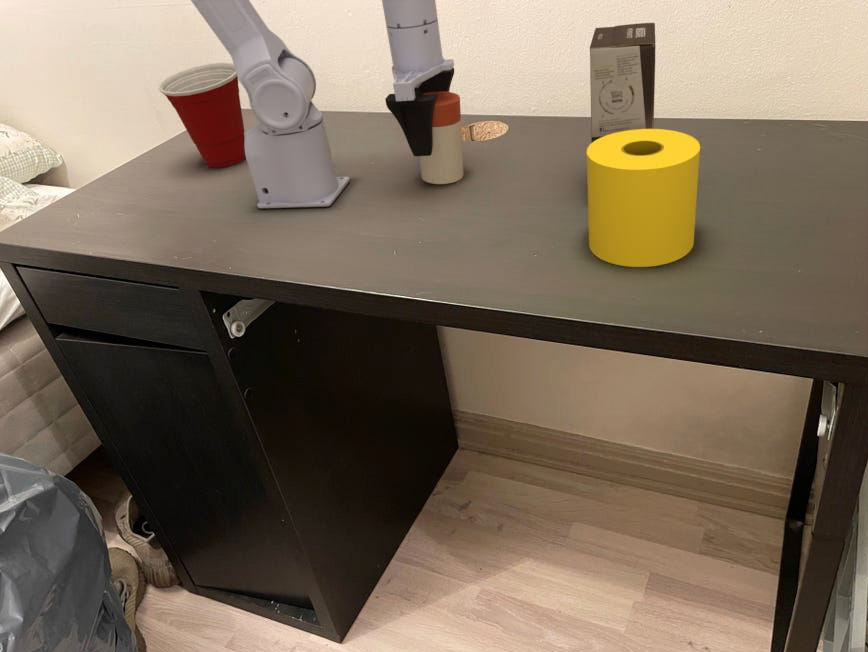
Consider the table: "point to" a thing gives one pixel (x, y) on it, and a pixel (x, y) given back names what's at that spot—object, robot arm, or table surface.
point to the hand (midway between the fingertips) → (430, 143)
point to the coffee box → (622, 79)
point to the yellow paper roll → (642, 196)
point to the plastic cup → (210, 111)
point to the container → (444, 141)
